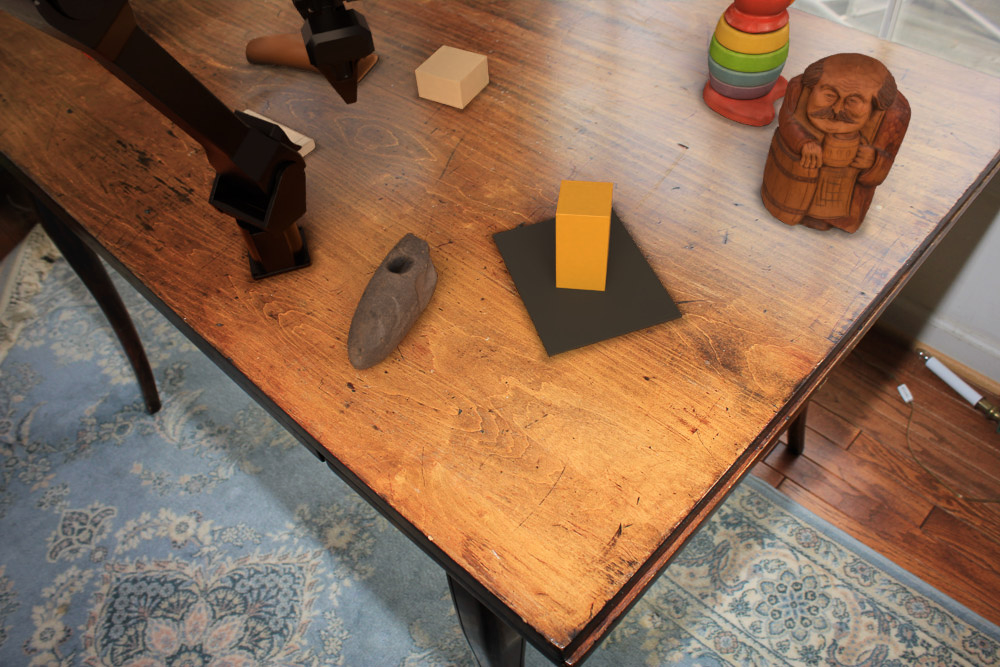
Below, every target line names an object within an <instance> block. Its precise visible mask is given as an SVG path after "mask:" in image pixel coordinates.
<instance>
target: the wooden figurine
mask: <svg viewBox="0 0 1000 667" xmlns="http://www.w3.org/2000/svg"><path fill="white" fill-rule="evenodd" d="M911 118H912V107H911V104H910V103H909V100H908V99H907V97H906V96H905V95H904V94H903V93H902V92H901V91H900V90H899V89H898V85H897V82H896V79H895V76H894V75H893V74H892V71H890V70H889V69H888V67H887V66H886V65H885V64H884V63H882V61H880V60H879V59H877V58H875V57H873V56H870V55H867V54H864V53H860V52H839V53H838V52H837V53H834V54H831V55H826V56H825V57H822V58H819V59H817V60H816V61H814V62H812V63H810V64H808V65H807V66H806V68H805V69H804V71H803V72H801V73H799V74H797V75H795V76H792V77H791V78H790V79H789V81H788V85H787V88H786V92H785V96H783V100H782V103H781V106H780V108H779V111H778V115H777V123H778V126H777V127H776V128H775V130H774V131H773V134H772V137H771V142H770V144H769V149H768V153H767V156H766V160H765V161H766V162H765V165H764V169H763V173H762V174H763V176H762V182H761V188H760V195H761V198H762V202H763V204H764V207H765V209H766V210H768V212H769V213H770V214H771V216H773V217H774V218H776V219H777V220H779V221H781V222H782V223H785V224H786V225H789V226H797V225H802V226H805V227H807V228H809V229H816V230H819V231H823V232H827V231H830V230H831V229H833V228H838V229H841V230H842V231H845V232H847V233H850V234H854V233H855V232H856V231H858V230H859V229H860V227H861V226H862V225H863V223H864V222H865V218H866V215H867V213H868V211H869V209H870V207H871V205H872V203H873V199H874V196H875V192H876V190H877V187H878V186H881V185H882V184H883V183H884V182H885V181H886V179H887V177H888V175H889V174H890V171H891V169H892V167H893V165H894V163H895V161H896V157H897V155H898V153H899V150H900V149H901V147H902V143H903V141H904V139H905V136H906V134H907V131H908V129H909V125H910V122H911Z"/></svg>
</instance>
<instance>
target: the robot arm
mask: <svg viewBox="0 0 1000 667" xmlns="http://www.w3.org/2000/svg"><path fill="white" fill-rule="evenodd" d="M358 1H359V0H291V3H292V4H293V6H294V8H295V9H296V12H298V14H299V15H300V17H301V18H302V20H303V21H304V22H303V24H302V26H301V27H300V29H299V30H300V34H302V37H303V41H304V44H305V48H306V51H307V55H308V58H309V61H310V65H313V67H315V68H317V70H318V71H319V72H320V73H321V74H320V75H321V76H323V78H324V79H325V80H326V81H327V82H328V83H329V85H330V86H331V87H332V88H333V89H334V90H335V92H336V93H337V94H338V95H339V97H340V98H341V99H342V101H344V103H345V104H346V105H352V104H356V103H358V102H357V101H358V83H359V82H358V65H359V62H360V60H361V59H362V58H364V57H367V56H369V55H371V54H372V53H374V52H375V51H376V48H375V43H374V38H373V34H372V30H371V28H370V26H369V23H368V21H367V19H366V17H365V14H363V13H361V12H359V11H358V10H356V9H355V8H349V9H347V8H346V5H345V3H344V2H346V3H353V2H358ZM0 10H1V11H3V12H5V13H7V14H8V15H10V16H12V17H14V18H15V19H18V20H20V21H21V22H23V23H25V24H26V25H29V26H30V27H33V28H34V29H36V30H38V31H40V32H42V33H43V34H46V35H48V36H50V37H51V38H53V39H56V40H58V41H60V42H62V43H64V44H66V45H67V46H70V47H72V48H74V49H76V50H77V51H79V52H81V51H82V52H84V53H86V54H87V55H89V56H90V57H92V58H93V59H94V60H93V61H95V62H96V63H98V64H99V65H100V66H101V67H102V68H104V69H105V70H106V71H108V72H109V73H110V74H111V75H113V76H114V77H115V78H117V79H118V80H119V81H120V82H121V83H123V84H124V85H125V86H126V87H128V88H129V89H130V90H131V91H133V92H134V93H135V94H137V95H138V96H139V97H140V98H141V99H143V100H144V101H145V102H146V103H148V104H149V105H150V106H151V107H153V108H154V109H155V110H157V111H158V112H159V113H160V114H161V115H162V116H164V117H165V118H166V119H168V120H169V121H170V122H172V123H173V124H174V125H175V126H177V127H178V128H179V129H180V130H182V131H183V132H184V133H185V134H187V135H188V136H189V137H190V138H191V139H193V140H194V141H195V142H196V143H198V144H199V145H200V147H202V148H203V149H204V151H205V152H204V153H205V155H206V158H207V161H208V163H209V164H210V166H211V167H212V168H213V169H214V170H215V176H214V178H213V183H212V186H211V189H210V194H209V196H208V204H209V205H210V206H211V207H212V208H213V209H214V210H215V211H217V212H218V213H219V214H224V215H226V216H228V217H230V218H233V219H235V223H236V225H237V227H238V230H239V232H240V235H241V236H242V239H243V240H244V243H245V245H246V249H247V255H248V256H247V258H248V262H249V269H250V270H249V271H250V276H251V278H252V280H254V281H260V280H263V279H267V278H271V277H275V276H278V275H283V274H286V273H290V272H294V271H297V270H302V269H305V268H309V267H310V266H312V264H313V262H312V257H311V253H310V248H309V244H308V240H307V234H306V231H305V228H304V226H302V225H301V226H299V225H298V224H297V221H298V220H299V219H300V218H302V217H303V216H304V215H305V214H306V213H307V173H306V170H305V169H306V168H307V163H306V160H305V158H304V156H303V157H302V155H301V154H300V153H299V152H298V151H299V150H301V149H302V146H301V145H298V144H295V143H293V142H292V141H291V140H290V139H289V138H288V136H287V135H286V133H285V132H284V131H283V130H282V129H281V128H280V127H279V126H278V125H277V124H274V123H271V122H268V121H266V120H263V119H260V118H258V117H255V116H252V115H250V114H247V113H244V112H243V111H241V110H239V109H235V110H234V111H233V110H232V109H231V108H230V107H229V106H227V105H226V104H225V103H224V102H223V101H222V100H221V99H219V97H218V96H216V94H214V93H213V92H212V91H211V90H210V89H209V88H208V87H207V86H205V85H204V84H203V83H202V82H201V81H200V80H199V79H198V77H197V78H196V76H195V75H194V74H192V73H191V71H189V70H188V69H187V68H186V67H185V66H184V65H183V64H181V63H180V62H179V61H178V60H177V59H176V58H175V57H174V56H173V55H172V54H171V53H169V52H168V51H167V50H166V49H165V48H164V47H163V46H162V45H160V43H158V42H157V41H156V40H155V39H154V38H153V37H152V36H151V35H150V34H149V33H148V32H147V31H146V30H145V29H143V28H142V27H141V25H140V23H138V21H137V19H136V17H135V13H134V11H133V8H132V6H131V3H130V0H0ZM82 52H81V53H82Z"/></svg>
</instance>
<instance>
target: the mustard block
mask: <svg viewBox="0 0 1000 667" xmlns="http://www.w3.org/2000/svg"><path fill="white" fill-rule="evenodd" d="M613 194H614V182H612V181H611V182H608V181H592V180H591V181H590V180H589V181H588V180H573V179H572V180H571V179H570V180H569V179H561V181H560V187H559V191H558V199H557V203H556V211H555V218H556V287H557V288H570V289H584V290H597V291H605V284H606V274H607V263H608V251H609V237H610V223H611V209H612V208H613Z"/></svg>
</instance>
